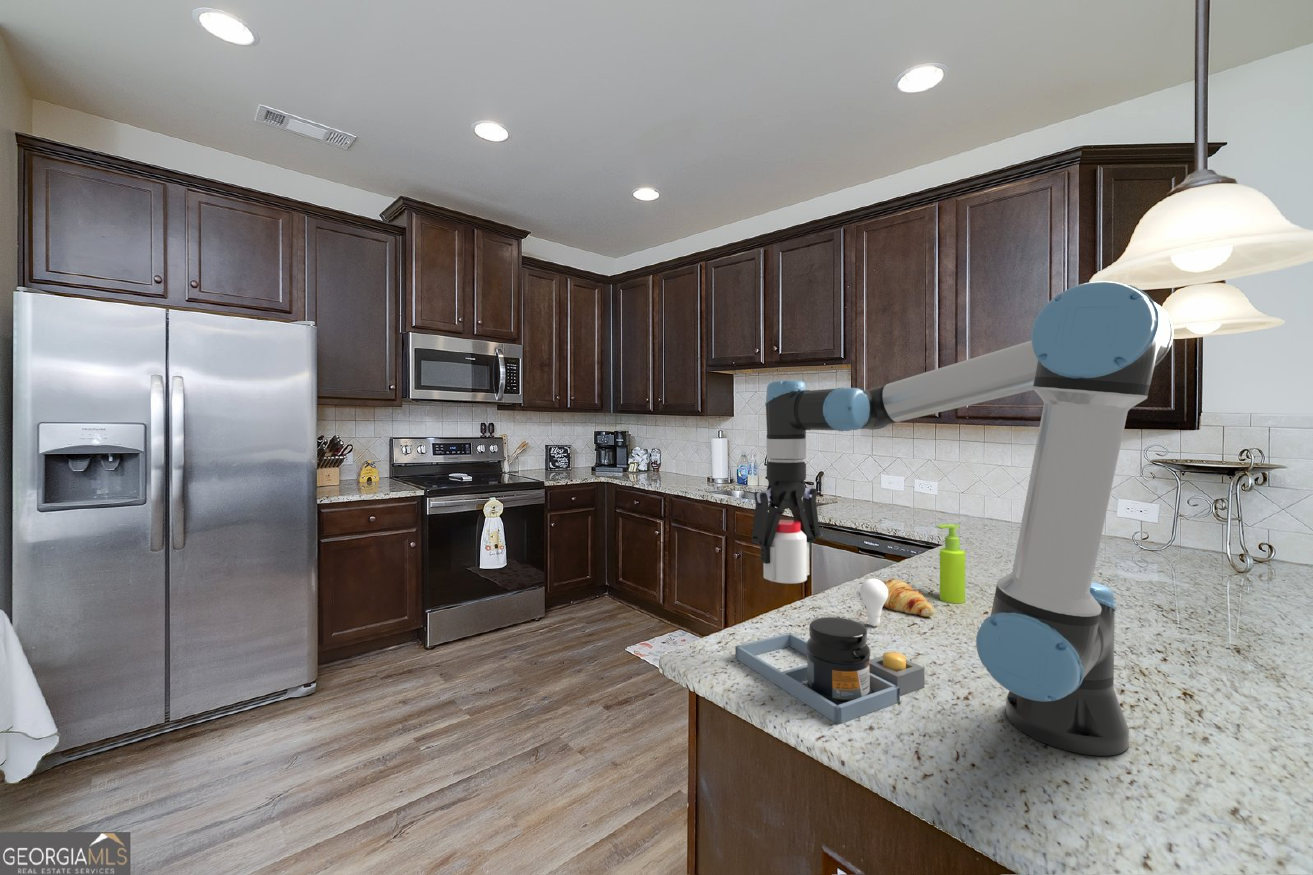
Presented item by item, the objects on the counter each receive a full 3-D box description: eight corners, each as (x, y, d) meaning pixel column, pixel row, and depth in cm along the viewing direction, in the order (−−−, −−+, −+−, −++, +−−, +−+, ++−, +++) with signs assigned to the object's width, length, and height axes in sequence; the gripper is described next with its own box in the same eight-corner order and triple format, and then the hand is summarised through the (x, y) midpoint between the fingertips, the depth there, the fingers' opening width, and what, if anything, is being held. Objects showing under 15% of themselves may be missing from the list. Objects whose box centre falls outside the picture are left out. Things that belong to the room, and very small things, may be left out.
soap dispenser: (931, 597, 146) (931, 522, 145) (955, 596, 146) (955, 522, 146) (945, 604, 140) (945, 527, 139) (970, 603, 141) (970, 526, 140)
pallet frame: (899, 702, 92) (899, 687, 92) (837, 724, 86) (837, 708, 85) (790, 644, 116) (790, 632, 116) (735, 658, 110) (735, 646, 110)
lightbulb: (875, 620, 130) (875, 574, 129) (894, 629, 124) (894, 581, 124) (854, 623, 128) (854, 576, 127) (872, 632, 122) (872, 584, 122)
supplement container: (880, 710, 90) (880, 638, 89) (815, 710, 90) (815, 638, 89) (857, 680, 100) (857, 615, 100) (800, 680, 100) (799, 615, 100)
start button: (910, 676, 98) (910, 658, 98) (896, 681, 96) (896, 662, 96) (892, 668, 101) (892, 650, 101) (878, 673, 99) (878, 654, 99)
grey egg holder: (924, 687, 97) (924, 667, 97) (897, 696, 94) (897, 676, 94) (891, 671, 103) (891, 653, 103) (865, 679, 100) (865, 661, 100)
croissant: (941, 632, 131) (952, 601, 132) (915, 618, 127) (927, 586, 128) (873, 604, 150) (883, 577, 151) (848, 591, 146) (859, 564, 148)
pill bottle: (805, 573, 110) (805, 519, 110) (808, 584, 102) (807, 526, 102) (766, 571, 112) (766, 518, 111) (766, 582, 104) (765, 525, 104)
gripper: (812, 457, 114) (813, 565, 115) (731, 461, 105) (732, 578, 106) (839, 459, 107) (839, 574, 108) (754, 464, 98) (755, 589, 99)
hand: (786, 576), depth 107 cm, fingers closed on pill bottle, 8 cm apart
